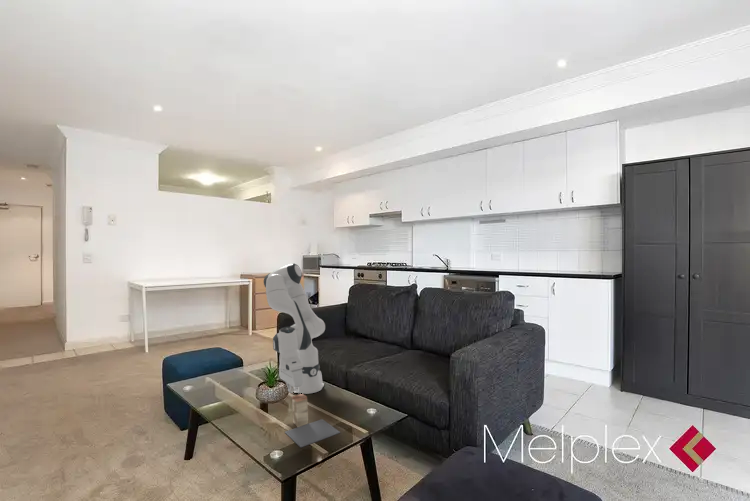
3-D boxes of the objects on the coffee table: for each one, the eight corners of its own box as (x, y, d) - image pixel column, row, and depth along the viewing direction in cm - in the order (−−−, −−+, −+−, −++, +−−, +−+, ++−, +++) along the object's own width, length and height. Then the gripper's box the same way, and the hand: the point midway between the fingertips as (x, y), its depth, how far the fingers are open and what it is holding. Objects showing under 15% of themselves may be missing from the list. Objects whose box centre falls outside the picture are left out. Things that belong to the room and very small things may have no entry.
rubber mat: (284, 432, 156) (284, 431, 156) (322, 419, 167) (322, 419, 167) (300, 447, 143) (300, 446, 143) (340, 432, 154) (340, 431, 154)
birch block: (293, 423, 165) (292, 396, 165) (303, 419, 168) (302, 393, 168) (297, 427, 161) (296, 399, 161) (308, 423, 164) (307, 396, 164)
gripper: (275, 359, 179) (276, 388, 178) (291, 368, 162) (293, 399, 161) (287, 357, 182) (288, 384, 182) (304, 365, 165) (306, 396, 165)
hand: (291, 392), depth 172 cm, fingers closed
